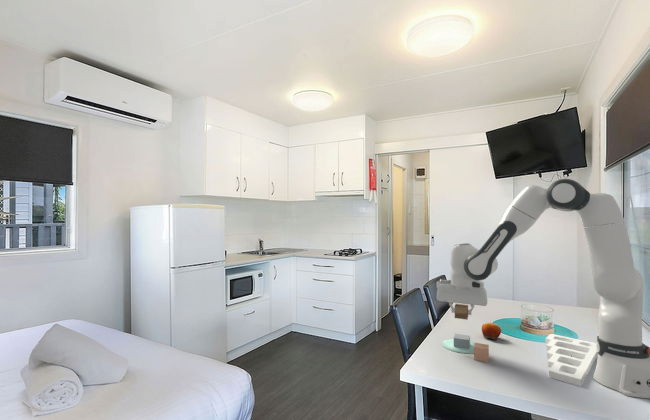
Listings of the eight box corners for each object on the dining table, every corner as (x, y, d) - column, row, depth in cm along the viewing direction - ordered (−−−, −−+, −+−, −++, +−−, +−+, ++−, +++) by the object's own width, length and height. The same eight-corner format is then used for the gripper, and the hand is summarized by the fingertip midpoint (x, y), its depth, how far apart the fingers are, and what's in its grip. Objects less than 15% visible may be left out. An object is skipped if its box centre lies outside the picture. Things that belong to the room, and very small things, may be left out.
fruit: (480, 337, 152) (481, 319, 156) (481, 341, 158) (482, 324, 162) (501, 340, 149) (501, 322, 152) (501, 344, 154) (501, 327, 158)
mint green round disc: (483, 343, 149) (483, 334, 149) (481, 356, 135) (481, 346, 135) (444, 337, 156) (444, 328, 156) (439, 349, 142) (439, 339, 142)
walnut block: (467, 319, 142) (467, 307, 143) (454, 317, 145) (454, 306, 145) (468, 316, 147) (468, 304, 147) (455, 315, 149) (455, 303, 149)
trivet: (580, 387, 111) (580, 379, 111) (519, 370, 124) (519, 362, 124) (601, 350, 143) (600, 344, 143) (550, 339, 155) (550, 333, 155)
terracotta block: (488, 357, 134) (488, 344, 134) (488, 362, 130) (488, 349, 130) (474, 355, 136) (474, 342, 136) (474, 359, 132) (474, 346, 132)
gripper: (435, 280, 148) (435, 312, 148) (487, 284, 139) (487, 318, 138) (437, 277, 154) (437, 308, 153) (487, 282, 144) (487, 314, 144)
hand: (461, 313), depth 146 cm, fingers closed on walnut block, 5 cm apart
